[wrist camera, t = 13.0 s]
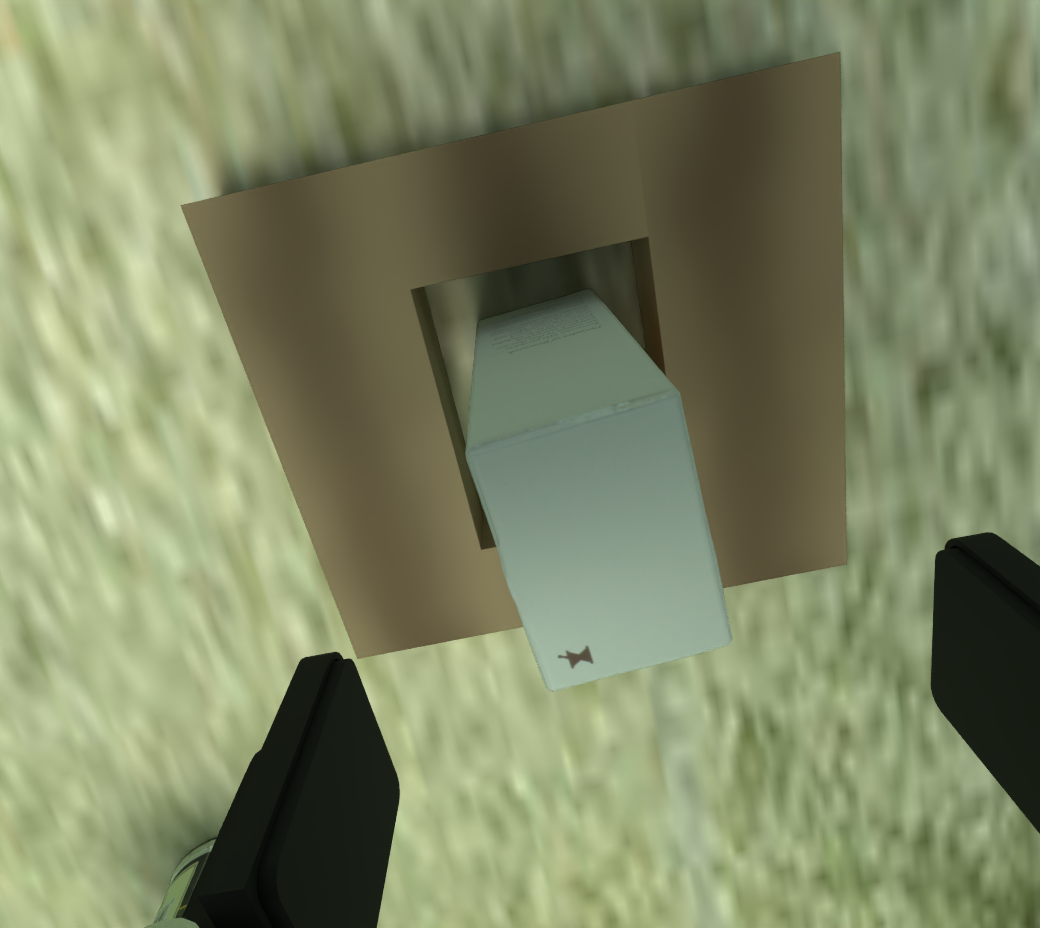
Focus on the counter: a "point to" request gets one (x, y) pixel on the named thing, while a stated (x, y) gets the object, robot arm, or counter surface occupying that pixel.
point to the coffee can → (184, 883)
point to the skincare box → (591, 493)
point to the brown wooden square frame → (525, 239)
